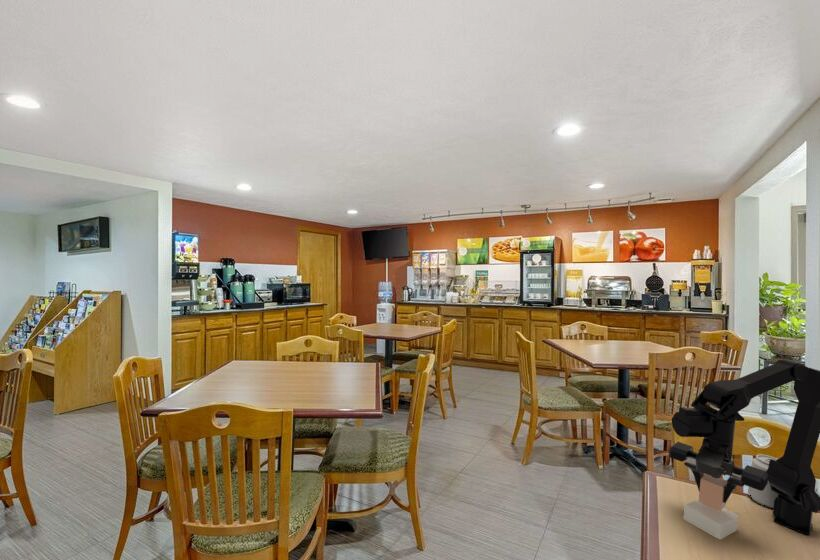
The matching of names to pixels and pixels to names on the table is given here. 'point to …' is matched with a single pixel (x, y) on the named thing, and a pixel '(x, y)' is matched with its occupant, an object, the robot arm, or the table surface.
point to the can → (759, 496)
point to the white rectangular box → (711, 519)
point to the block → (712, 492)
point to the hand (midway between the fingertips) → (712, 497)
